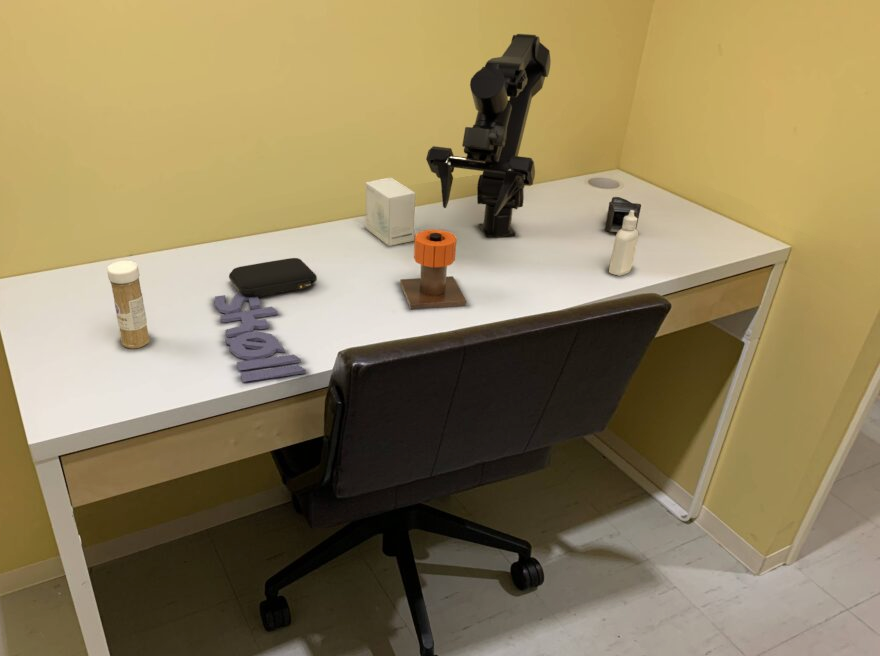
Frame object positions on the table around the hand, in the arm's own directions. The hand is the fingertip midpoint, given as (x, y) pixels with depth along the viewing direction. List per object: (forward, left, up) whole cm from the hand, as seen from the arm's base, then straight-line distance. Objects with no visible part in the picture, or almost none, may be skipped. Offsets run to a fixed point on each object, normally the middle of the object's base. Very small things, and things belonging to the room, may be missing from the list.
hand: (469, 210), depth 134 cm
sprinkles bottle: (+14, -58, -14) cm, 61 cm away
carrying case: (-3, -35, -14) cm, 38 cm away
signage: (+14, -39, -14) cm, 44 cm away
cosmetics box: (-24, -10, -14) cm, 30 cm away
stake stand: (+4, -7, -14) cm, 16 cm away
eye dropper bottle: (-1, +31, -14) cm, 34 cm away
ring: (+4, -7, -7) cm, 11 cm away
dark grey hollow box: (-22, +40, -14) cm, 48 cm away
